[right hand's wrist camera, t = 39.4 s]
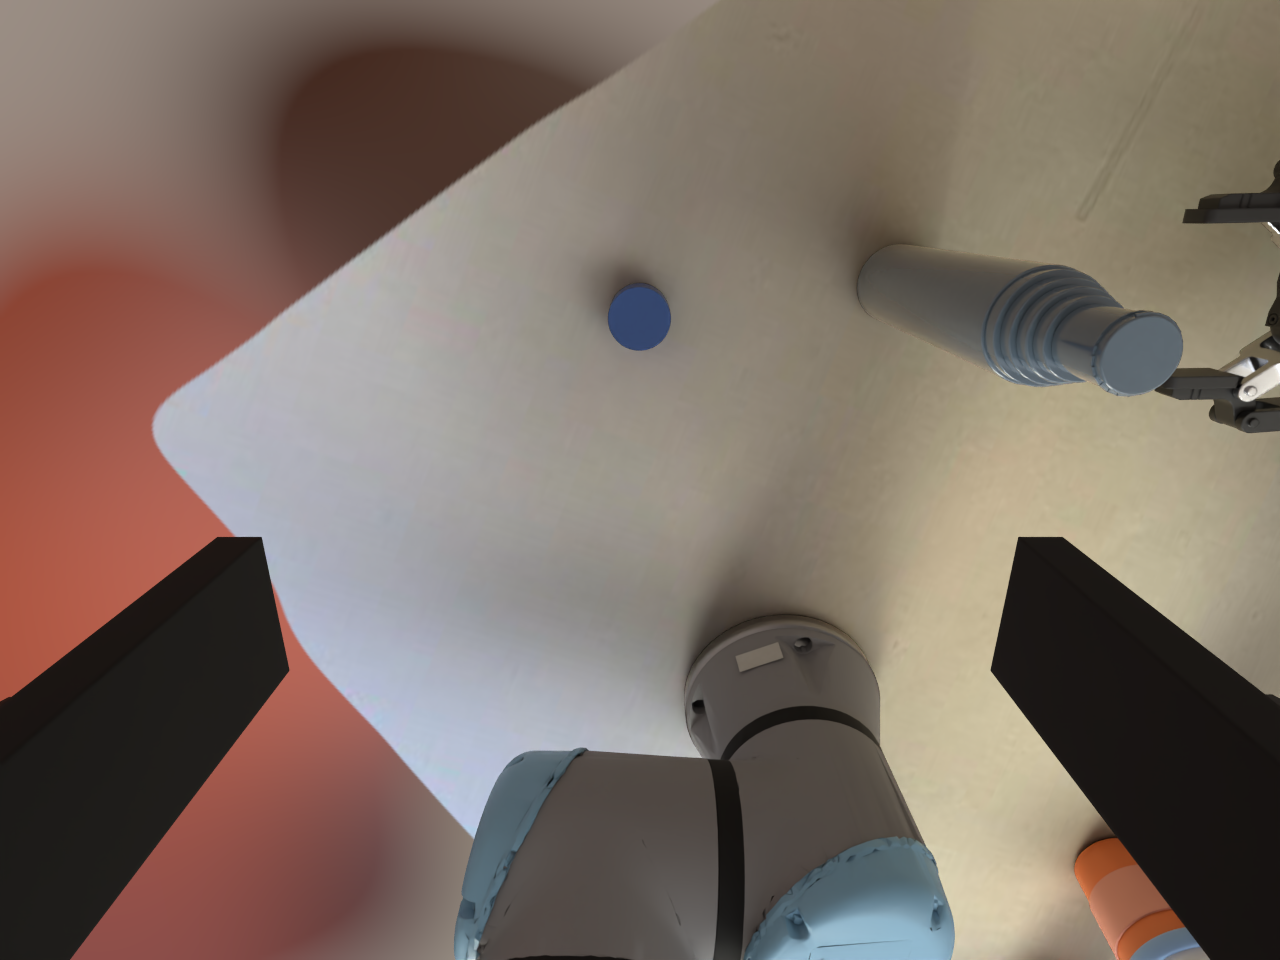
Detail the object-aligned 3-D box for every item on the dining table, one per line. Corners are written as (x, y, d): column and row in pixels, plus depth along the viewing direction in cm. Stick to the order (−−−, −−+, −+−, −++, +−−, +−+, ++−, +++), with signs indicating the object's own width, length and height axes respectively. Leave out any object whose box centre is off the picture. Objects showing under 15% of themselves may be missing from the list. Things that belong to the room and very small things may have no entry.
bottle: (934, 314, 47) (1211, 414, 24) (859, 328, 47) (1063, 439, 25) (932, 237, 45) (1228, 266, 22) (854, 251, 46) (1067, 294, 23)
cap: (663, 277, 46) (664, 281, 44) (673, 337, 48) (675, 343, 45) (603, 289, 46) (602, 294, 44) (616, 348, 48) (615, 356, 45)
